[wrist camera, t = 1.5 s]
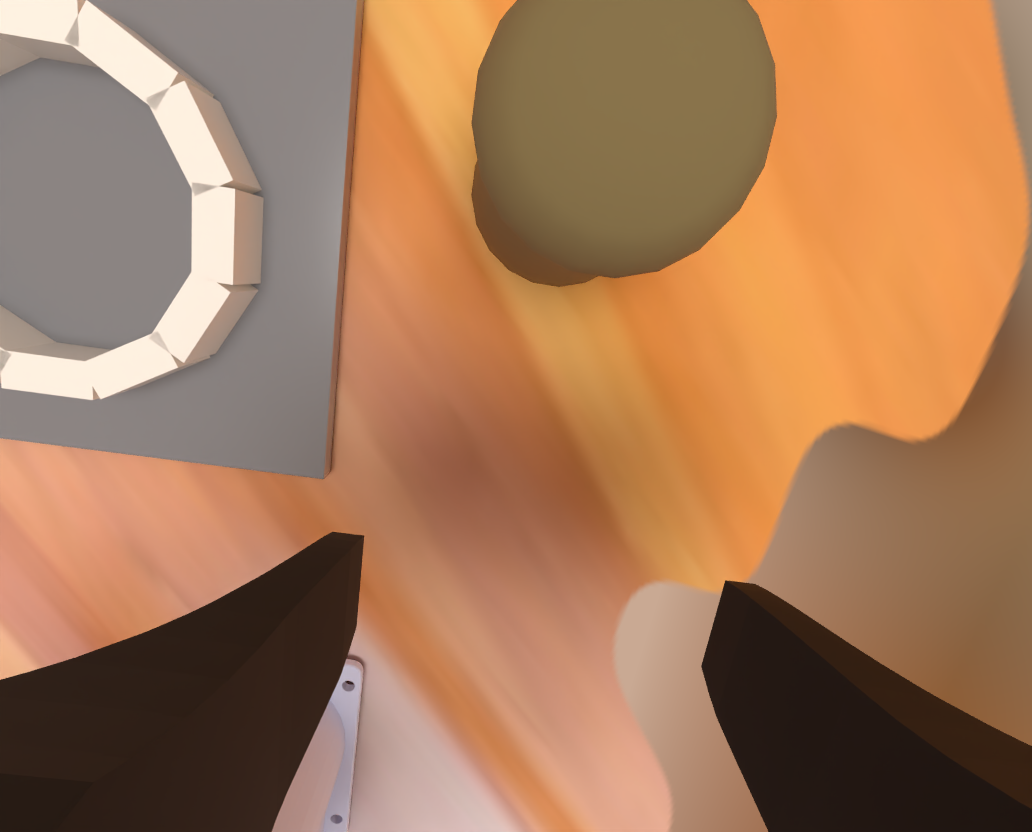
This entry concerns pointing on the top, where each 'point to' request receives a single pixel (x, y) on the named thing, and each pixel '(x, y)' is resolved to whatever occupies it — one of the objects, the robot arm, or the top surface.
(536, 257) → the cork
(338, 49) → the ring stand
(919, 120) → the top surface
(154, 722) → the robot arm
